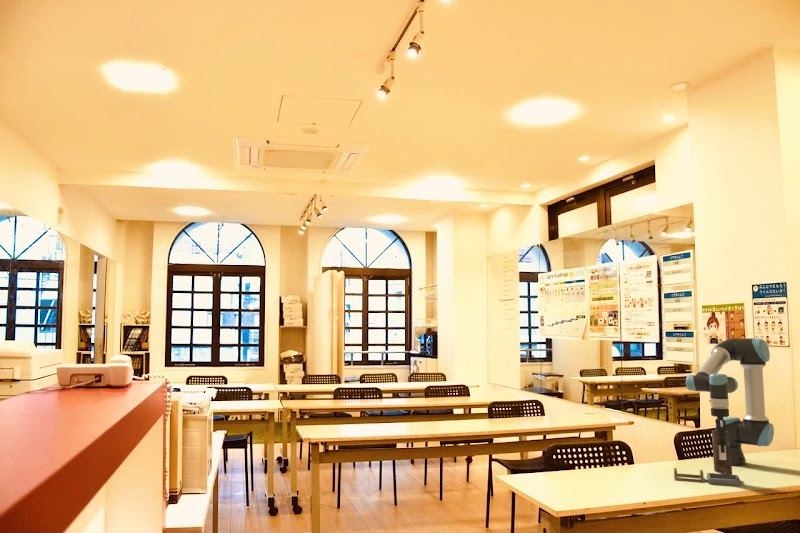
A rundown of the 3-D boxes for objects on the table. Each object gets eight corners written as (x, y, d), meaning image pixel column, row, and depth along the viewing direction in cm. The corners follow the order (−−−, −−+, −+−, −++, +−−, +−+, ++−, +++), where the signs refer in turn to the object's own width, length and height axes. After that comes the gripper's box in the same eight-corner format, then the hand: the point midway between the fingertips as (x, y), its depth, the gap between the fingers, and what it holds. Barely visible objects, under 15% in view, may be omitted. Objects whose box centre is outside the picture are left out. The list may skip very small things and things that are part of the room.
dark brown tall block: (713, 474, 293) (711, 430, 295) (714, 471, 300) (711, 427, 301) (732, 476, 290) (729, 431, 291) (732, 473, 296) (730, 429, 298)
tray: (706, 477, 303) (706, 472, 303) (737, 480, 298) (737, 474, 298) (708, 484, 291) (708, 478, 291) (740, 486, 286) (740, 481, 286)
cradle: (674, 475, 308) (673, 466, 308) (702, 477, 303) (702, 468, 303) (674, 480, 298) (674, 471, 299) (704, 482, 293) (703, 473, 294)
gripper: (709, 404, 308) (711, 453, 306) (712, 409, 290) (714, 461, 287) (726, 405, 305) (729, 454, 303) (730, 410, 287) (733, 463, 285)
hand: (722, 458), depth 295 cm, fingers closed on dark brown tall block, 7 cm apart
